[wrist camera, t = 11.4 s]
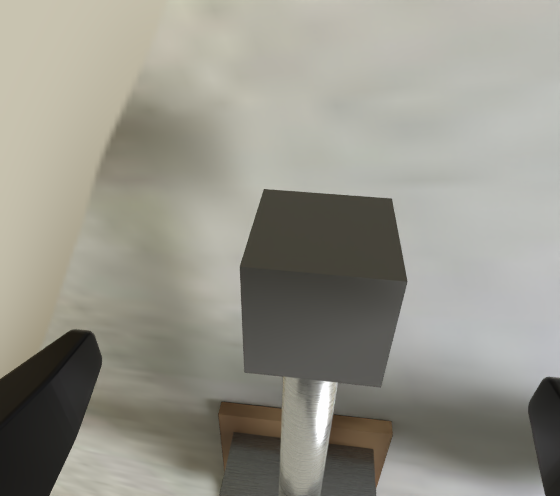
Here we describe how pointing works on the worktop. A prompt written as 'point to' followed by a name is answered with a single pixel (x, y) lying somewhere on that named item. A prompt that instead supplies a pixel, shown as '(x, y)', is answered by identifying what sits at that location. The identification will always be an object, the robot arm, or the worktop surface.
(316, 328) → the shaft
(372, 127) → the worktop surface
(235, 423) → the stand
